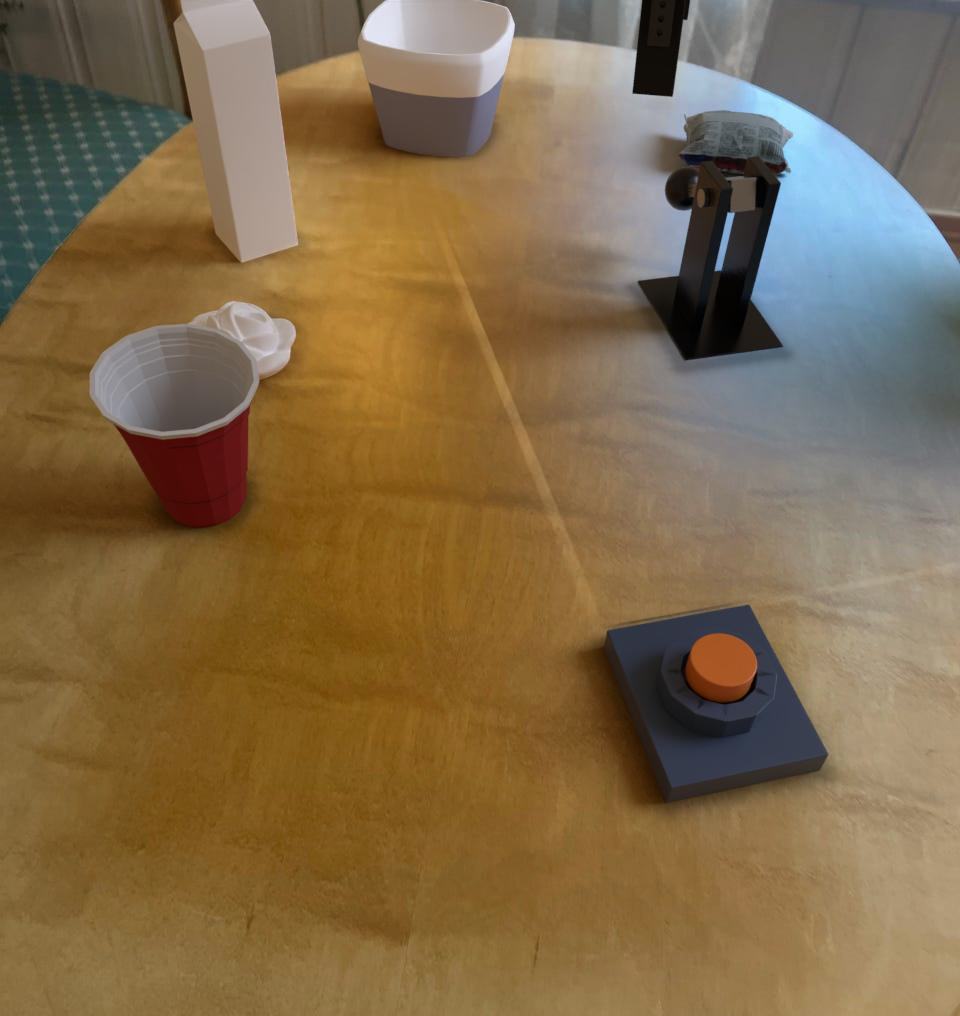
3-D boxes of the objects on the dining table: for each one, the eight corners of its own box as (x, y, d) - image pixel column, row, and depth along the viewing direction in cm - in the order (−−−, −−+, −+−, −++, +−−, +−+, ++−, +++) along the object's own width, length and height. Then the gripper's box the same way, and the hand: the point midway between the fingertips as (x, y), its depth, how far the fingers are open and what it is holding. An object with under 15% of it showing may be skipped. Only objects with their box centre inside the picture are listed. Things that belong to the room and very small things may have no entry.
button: (675, 656, 62) (680, 639, 61) (735, 645, 63) (741, 627, 62) (699, 708, 60) (704, 692, 58) (761, 696, 60) (768, 679, 59)
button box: (602, 650, 67) (609, 612, 64) (742, 624, 69) (755, 585, 65) (664, 806, 60) (676, 772, 57) (818, 773, 61) (838, 738, 58)
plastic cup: (192, 582, 70) (151, 451, 60) (104, 504, 74) (53, 371, 65) (312, 505, 75) (292, 372, 65) (223, 436, 79) (192, 302, 70)
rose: (148, 311, 82) (237, 261, 87) (160, 357, 85) (246, 306, 90) (231, 360, 78) (320, 306, 83) (241, 406, 82) (325, 351, 86)
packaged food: (680, 138, 111) (688, 91, 107) (788, 150, 110) (801, 104, 106) (673, 177, 106) (681, 130, 102) (787, 191, 105) (800, 144, 101)
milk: (299, 249, 96) (267, -10, 79) (240, 267, 94) (194, 5, 77) (271, 219, 99) (234, -36, 82) (214, 236, 97) (163, -22, 80)
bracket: (636, 291, 93) (660, 141, 82) (727, 280, 94) (762, 131, 83) (682, 371, 86) (716, 218, 75) (780, 357, 87) (826, 205, 76)
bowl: (350, 157, 107) (340, 44, 98) (392, 94, 116) (386, -14, 108) (490, 177, 105) (493, 63, 96) (521, 111, 114) (527, 2, 106)
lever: (658, 211, 91) (658, 167, 90) (695, 207, 92) (696, 163, 90) (721, 222, 80) (722, 172, 78) (763, 217, 80) (765, 167, 79)
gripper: (664, -394, 64) (628, -14, 80) (619, -330, 48) (586, 125, 65) (785, -393, 63) (723, -7, 79) (778, -327, 47) (703, 135, 64)
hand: (661, 53), depth 72 cm, fingers open, 13 cm apart
